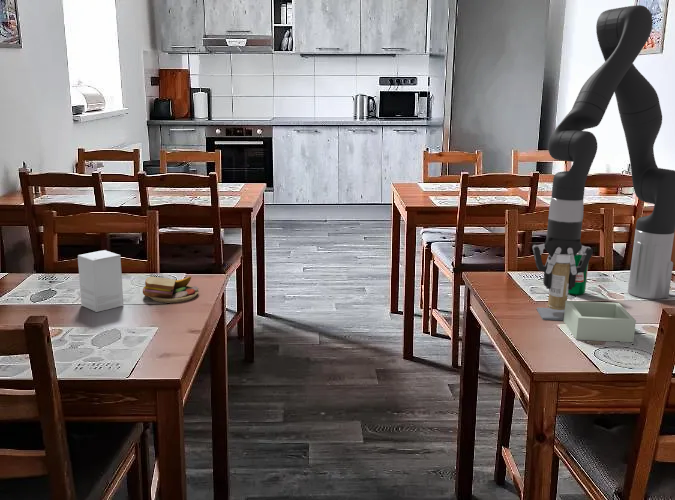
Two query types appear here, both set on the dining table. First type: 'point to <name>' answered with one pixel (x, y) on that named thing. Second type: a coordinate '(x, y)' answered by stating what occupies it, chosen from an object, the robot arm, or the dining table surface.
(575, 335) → the crate
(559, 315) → the coaster
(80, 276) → the supplement box
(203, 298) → the dining table surface
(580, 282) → the soda can
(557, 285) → the sprinkles bottle
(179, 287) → the toy sandwich meal
